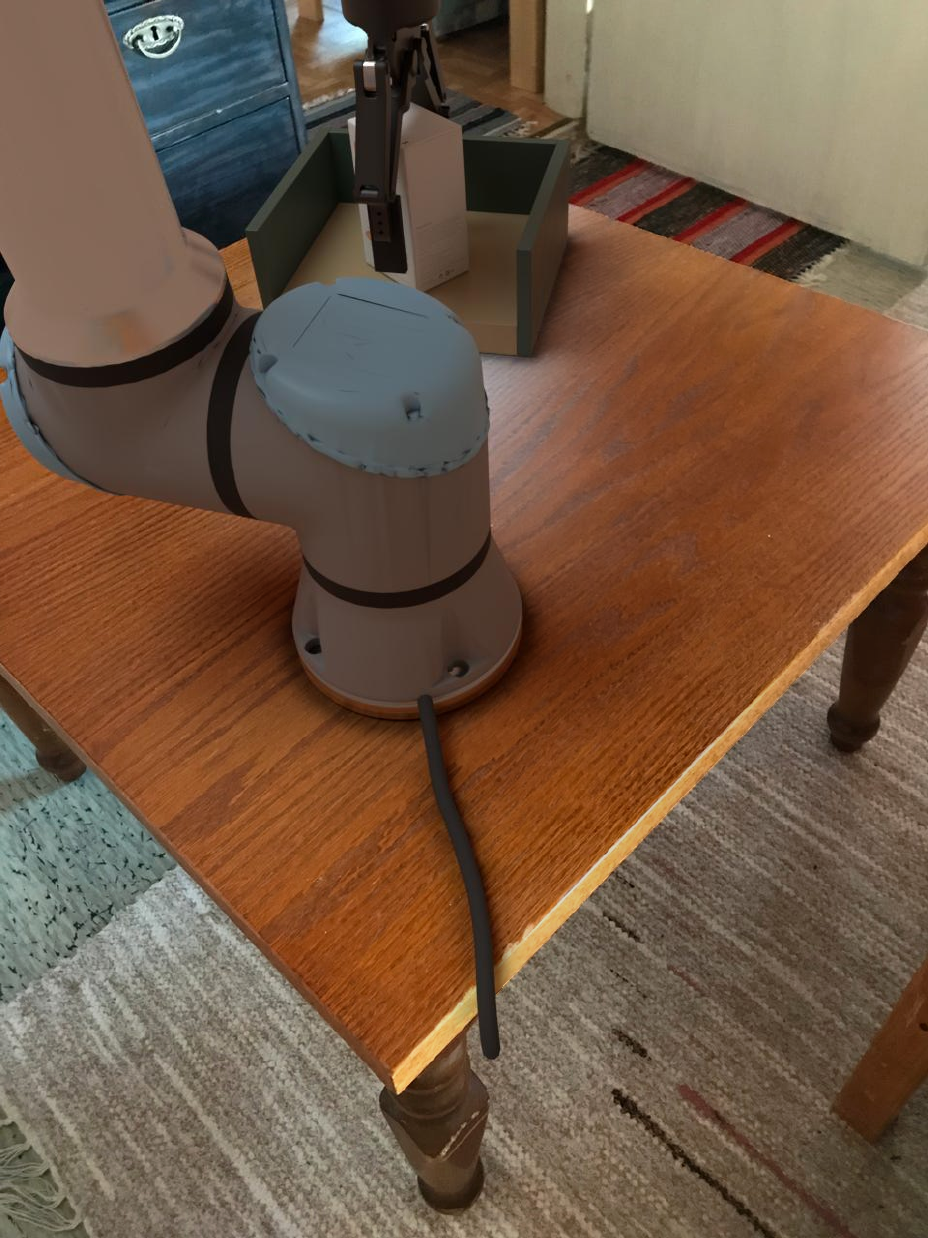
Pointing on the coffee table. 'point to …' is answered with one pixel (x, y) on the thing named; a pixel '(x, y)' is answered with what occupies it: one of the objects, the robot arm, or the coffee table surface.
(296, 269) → the green open tray
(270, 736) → the coffee table surface
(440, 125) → the small box
